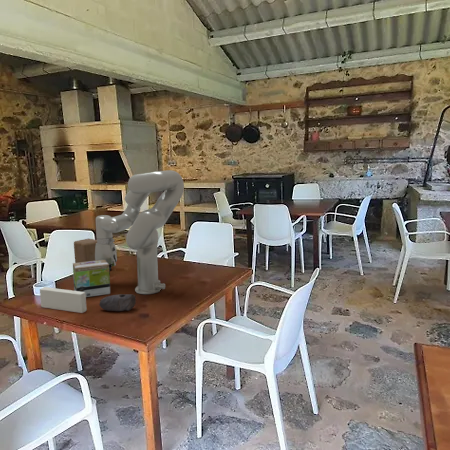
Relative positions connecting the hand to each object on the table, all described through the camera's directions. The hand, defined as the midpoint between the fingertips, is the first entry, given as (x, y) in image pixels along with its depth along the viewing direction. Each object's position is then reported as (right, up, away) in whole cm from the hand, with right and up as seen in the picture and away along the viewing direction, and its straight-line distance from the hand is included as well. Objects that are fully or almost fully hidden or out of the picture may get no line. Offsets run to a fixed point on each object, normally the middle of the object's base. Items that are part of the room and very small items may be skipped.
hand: (106, 276), depth 198 cm
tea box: (-3, -7, -10) cm, 13 cm away
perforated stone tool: (+14, -10, -31) cm, 35 cm away
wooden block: (-13, -2, +14) cm, 19 cm away
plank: (-10, -10, -29) cm, 32 cm away
